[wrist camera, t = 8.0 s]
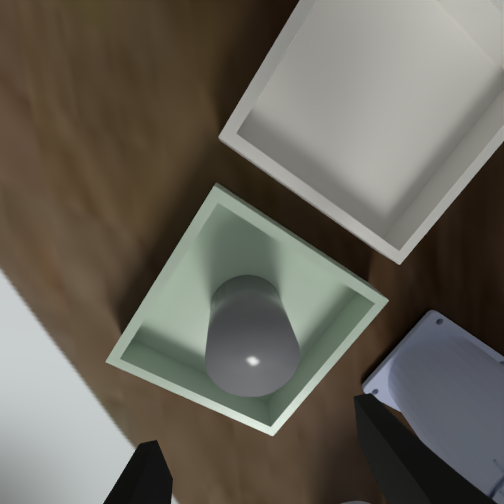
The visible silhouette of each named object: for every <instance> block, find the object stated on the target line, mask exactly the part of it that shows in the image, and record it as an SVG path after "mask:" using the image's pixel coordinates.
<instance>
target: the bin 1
mask: <svg viewBox="0 0 504 504" xmlns="http://www.w3.org/2000/svg"><path fill="white" fill-rule="evenodd" d="M219 140H220V141H221V142H222V143H224V144H225V145H227V146H228V147H230V148H231V149H232V150H234V151H235V152H237V153H238V154H239V155H241V156H242V157H244V158H245V159H247V160H248V161H249V162H251V163H252V164H254V165H255V166H257V167H258V168H259V169H261V170H262V171H264V172H265V173H266V174H268V175H269V176H271V177H272V178H274V179H275V180H276V181H278V182H279V183H281V184H282V185H284V186H285V187H286V188H288V189H289V190H291V191H292V192H293V193H295V194H296V195H298V196H299V197H301V198H302V199H303V200H305V201H306V202H308V203H309V204H311V205H312V206H313V207H315V208H316V209H318V210H319V211H320V212H322V213H323V214H325V215H326V216H328V217H329V218H330V219H332V220H333V221H335V222H336V223H338V224H339V225H340V226H342V227H343V228H345V229H346V230H347V231H349V232H350V233H352V234H353V235H355V236H356V237H357V238H359V239H360V240H362V241H363V242H365V243H366V244H367V245H369V246H370V247H372V248H373V249H374V250H376V251H377V252H379V253H381V254H382V255H384V256H386V257H387V258H389V259H391V260H392V261H394V262H395V263H397V264H399V265H400V264H401V263H402V262H403V261H404V259H405V258H406V257H407V256H408V255H409V253H410V252H411V251H412V250H413V249H414V247H415V246H416V245H417V244H418V243H419V241H420V240H421V239H422V238H423V237H424V236H425V234H426V233H427V232H428V231H429V230H430V228H431V227H432V226H433V225H434V224H435V222H436V221H437V220H438V219H439V218H440V216H441V215H442V214H443V213H444V212H445V210H446V209H447V208H448V207H449V206H450V204H451V203H452V202H453V201H454V200H455V199H456V197H457V196H458V195H459V194H460V193H461V191H462V190H463V189H464V188H465V187H466V185H467V184H468V183H469V182H470V181H471V179H472V178H473V177H474V176H475V175H476V173H477V172H478V171H479V170H480V169H481V167H482V166H483V165H484V164H485V163H486V161H487V160H488V159H489V158H490V157H491V156H492V154H493V153H494V152H495V151H496V150H497V148H498V147H499V146H500V145H501V144H502V142H503V141H504V0H300V1H299V2H298V4H297V6H296V7H295V9H294V11H293V12H292V14H291V16H290V17H289V19H288V21H287V22H286V24H285V26H284V27H283V29H282V31H281V32H280V34H279V36H278V38H277V39H276V41H275V43H274V44H273V46H272V48H271V49H270V51H269V53H268V54H267V56H266V58H265V59H264V61H263V63H262V64H261V66H260V68H259V69H258V71H257V73H256V74H255V76H254V78H253V80H252V81H251V83H250V85H249V86H248V88H247V90H246V91H245V93H244V95H243V96H242V98H241V100H240V101H239V103H238V105H237V106H236V108H235V110H234V111H233V113H232V115H231V117H230V118H229V120H228V122H227V123H226V125H225V127H224V128H223V130H222V132H221V133H220V135H219Z"/></svg>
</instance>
